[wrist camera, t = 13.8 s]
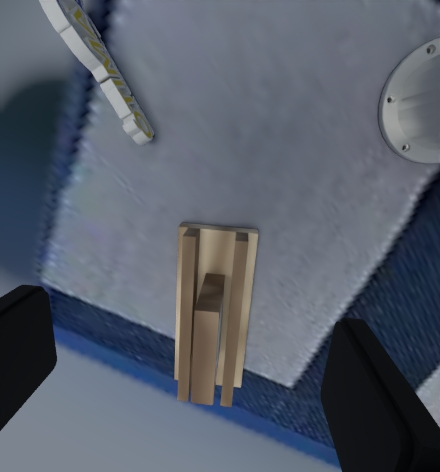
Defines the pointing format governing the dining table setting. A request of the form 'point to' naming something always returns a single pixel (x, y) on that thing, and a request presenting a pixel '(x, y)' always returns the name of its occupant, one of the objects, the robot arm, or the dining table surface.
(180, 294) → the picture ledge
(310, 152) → the dining table surface
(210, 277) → the walnut picture frame
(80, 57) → the decorative sign
